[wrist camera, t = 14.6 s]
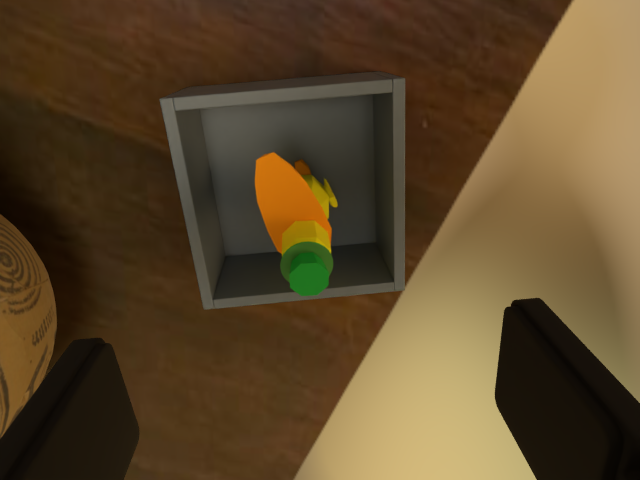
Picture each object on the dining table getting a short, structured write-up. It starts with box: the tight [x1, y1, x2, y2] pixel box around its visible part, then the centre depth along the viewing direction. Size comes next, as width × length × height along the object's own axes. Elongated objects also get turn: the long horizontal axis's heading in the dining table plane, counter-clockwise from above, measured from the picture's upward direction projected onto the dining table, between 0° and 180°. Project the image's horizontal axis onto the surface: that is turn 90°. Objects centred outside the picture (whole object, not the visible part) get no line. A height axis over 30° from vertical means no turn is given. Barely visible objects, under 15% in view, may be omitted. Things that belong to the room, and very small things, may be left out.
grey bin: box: [160, 71, 405, 310], centre depth 25 cm, size 11×11×6 cm
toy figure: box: [255, 152, 338, 296], centre depth 22 cm, size 7×4×12 cm, turn 23°
